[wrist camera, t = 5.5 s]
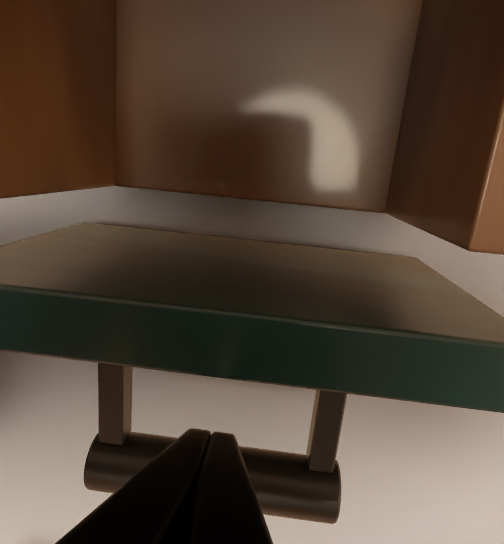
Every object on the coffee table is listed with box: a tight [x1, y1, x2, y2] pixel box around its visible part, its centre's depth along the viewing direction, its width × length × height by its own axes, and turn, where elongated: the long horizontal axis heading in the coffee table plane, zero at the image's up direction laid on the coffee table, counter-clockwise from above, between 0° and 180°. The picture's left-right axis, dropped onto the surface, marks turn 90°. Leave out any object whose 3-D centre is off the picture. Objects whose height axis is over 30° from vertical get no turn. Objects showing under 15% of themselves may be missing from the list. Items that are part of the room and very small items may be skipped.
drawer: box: [0, 0, 504, 524], centre depth 9 cm, size 15×10×6 cm
